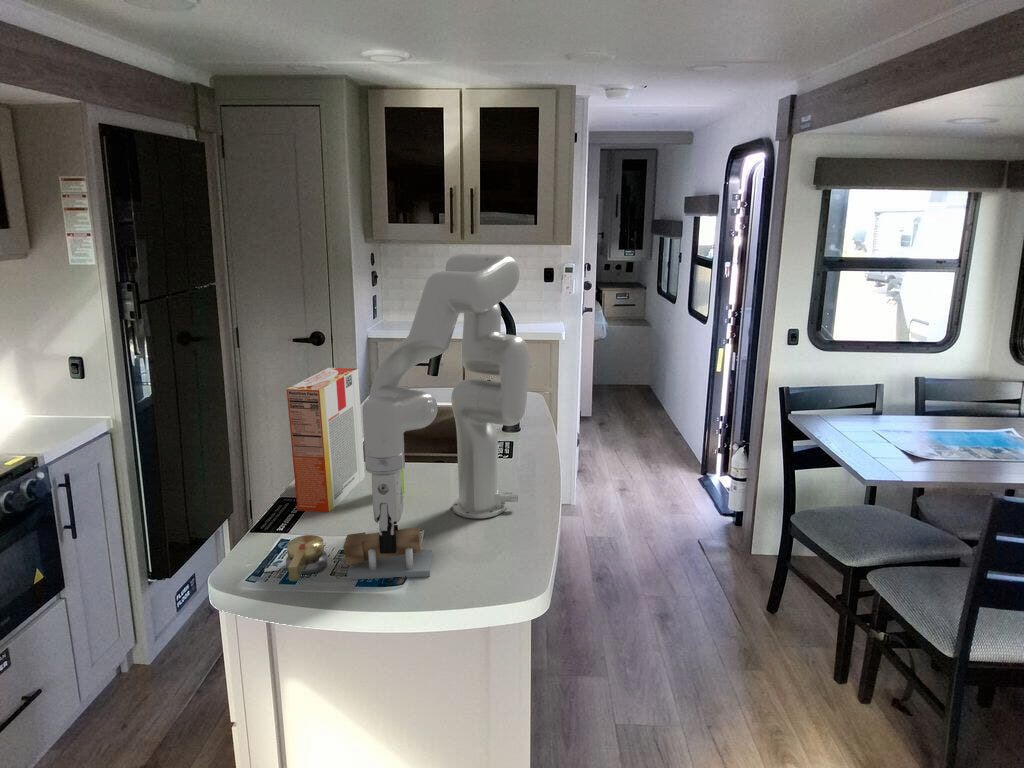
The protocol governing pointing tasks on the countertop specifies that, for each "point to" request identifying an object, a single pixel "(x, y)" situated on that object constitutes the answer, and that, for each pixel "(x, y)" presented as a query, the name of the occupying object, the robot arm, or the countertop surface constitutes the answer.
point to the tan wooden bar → (362, 542)
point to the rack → (392, 566)
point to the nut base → (307, 565)
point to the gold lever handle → (303, 553)
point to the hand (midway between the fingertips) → (389, 547)
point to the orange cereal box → (326, 438)
